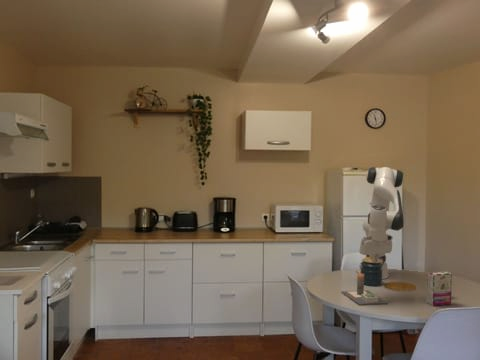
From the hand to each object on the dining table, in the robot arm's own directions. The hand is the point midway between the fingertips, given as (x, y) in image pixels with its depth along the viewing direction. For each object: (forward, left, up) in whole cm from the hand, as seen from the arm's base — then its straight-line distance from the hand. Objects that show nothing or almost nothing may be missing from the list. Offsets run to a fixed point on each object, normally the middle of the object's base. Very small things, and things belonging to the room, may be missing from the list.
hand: (374, 261), depth 231 cm
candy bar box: (+12, +30, -20) cm, 38 cm away
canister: (-29, +13, -20) cm, 38 cm away
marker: (-7, -5, -19) cm, 21 cm away
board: (-2, -5, -20) cm, 21 cm away
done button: (+4, -5, -19) cm, 20 cm away
